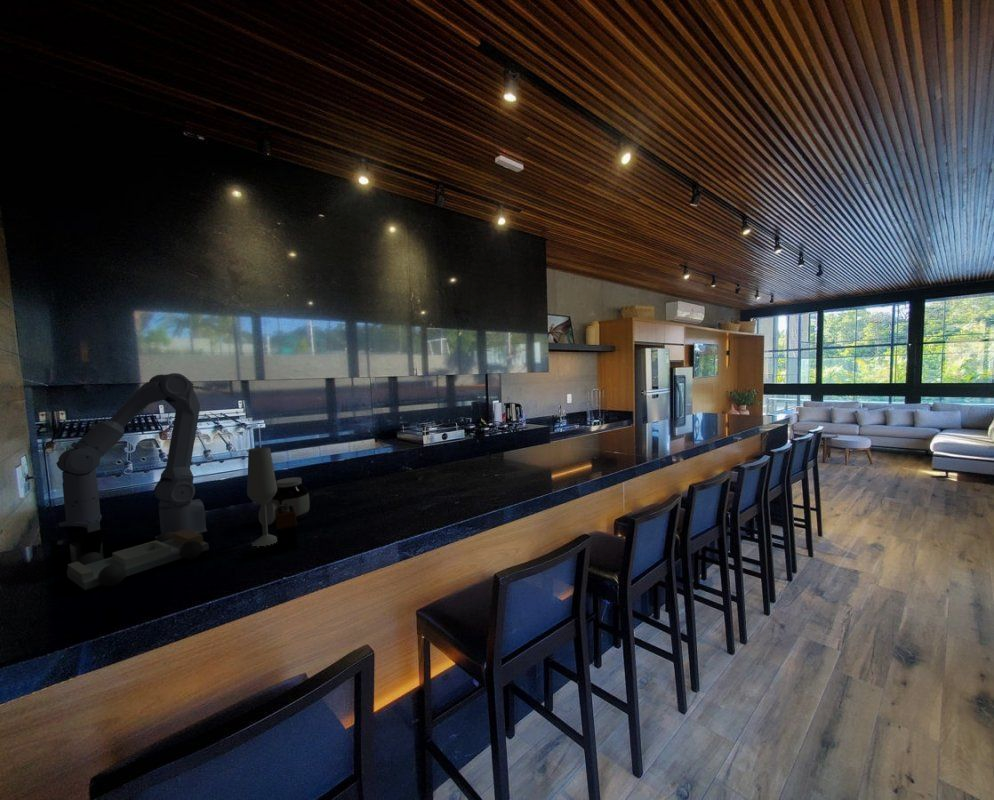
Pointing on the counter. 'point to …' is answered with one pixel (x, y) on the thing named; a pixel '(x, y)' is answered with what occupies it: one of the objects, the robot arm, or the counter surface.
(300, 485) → the spread jar
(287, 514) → the battery
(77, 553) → the engine block
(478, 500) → the counter surface
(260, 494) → the champagne flute
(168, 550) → the car chassis
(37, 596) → the counter surface
